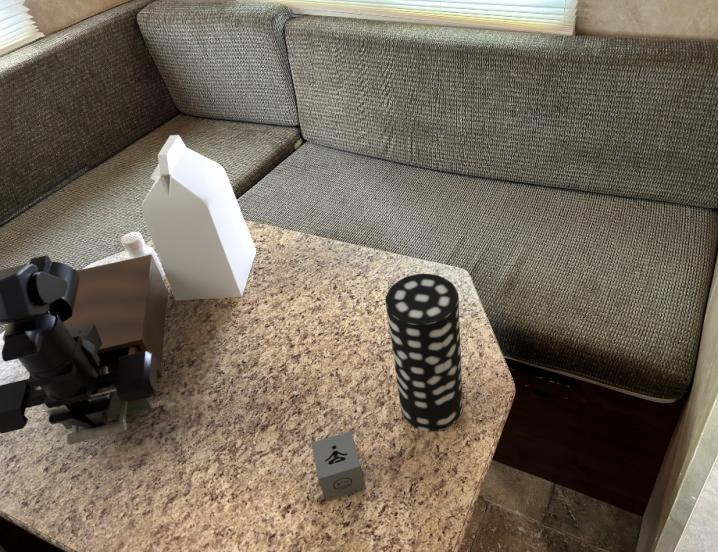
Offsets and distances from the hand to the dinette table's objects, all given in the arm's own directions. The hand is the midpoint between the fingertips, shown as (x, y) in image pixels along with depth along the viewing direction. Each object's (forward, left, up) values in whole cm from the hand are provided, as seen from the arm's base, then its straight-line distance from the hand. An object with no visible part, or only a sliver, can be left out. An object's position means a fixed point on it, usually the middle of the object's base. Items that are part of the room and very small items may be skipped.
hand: (104, 426), depth 81 cm
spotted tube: (+31, -31, -2) cm, 44 cm away
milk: (+29, +16, -2) cm, 33 cm away
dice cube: (+16, -29, -2) cm, 33 cm away
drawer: (+5, +7, -1) cm, 9 cm away
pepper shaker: (+21, +25, -2) cm, 32 cm away
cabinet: (+10, +15, -2) cm, 19 cm away
